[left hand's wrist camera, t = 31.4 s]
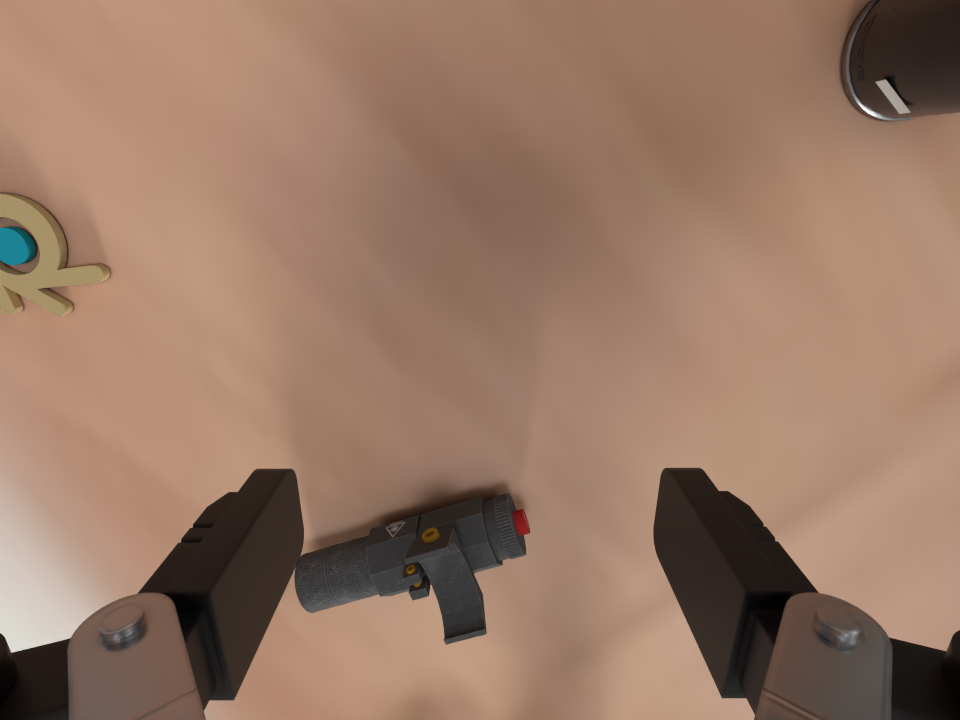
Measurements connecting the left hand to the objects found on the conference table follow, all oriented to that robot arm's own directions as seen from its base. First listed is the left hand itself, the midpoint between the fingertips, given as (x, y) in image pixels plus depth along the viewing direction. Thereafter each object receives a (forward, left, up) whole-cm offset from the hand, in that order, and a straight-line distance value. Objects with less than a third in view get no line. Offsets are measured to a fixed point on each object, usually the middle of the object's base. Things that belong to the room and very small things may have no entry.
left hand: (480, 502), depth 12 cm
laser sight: (+8, +28, -35) cm, 45 cm away
